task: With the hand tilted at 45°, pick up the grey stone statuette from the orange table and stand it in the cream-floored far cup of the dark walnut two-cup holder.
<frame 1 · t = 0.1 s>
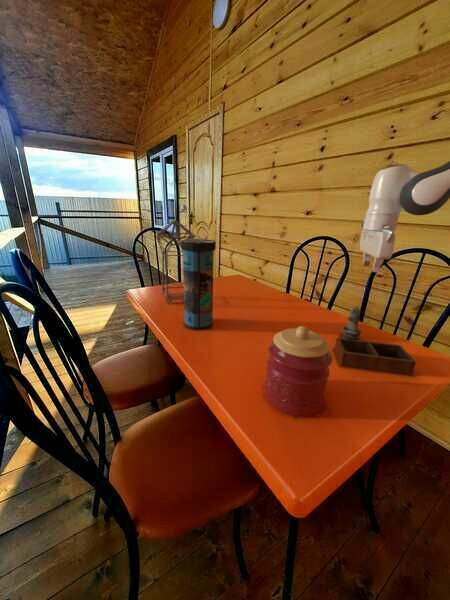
hand: (370, 268, 83), 23 cm above the table, tool pointing down, fingers open, 8 cm apart
grey stone statuette: (349, 339, 85), on the table
holder: (369, 363, 72), on the table
kitchen canister: (292, 398, 58), on the table
geometric lantern: (177, 301, 116), on the table
advertising column: (198, 325, 92), on the table
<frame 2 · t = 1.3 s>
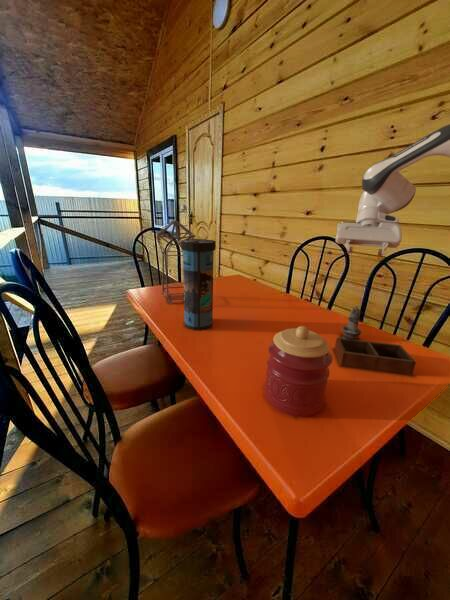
hand: (364, 253, 87), 27 cm above the table, tool tilted 45°, fingers open, 8 cm apart
nothing on the table moved.
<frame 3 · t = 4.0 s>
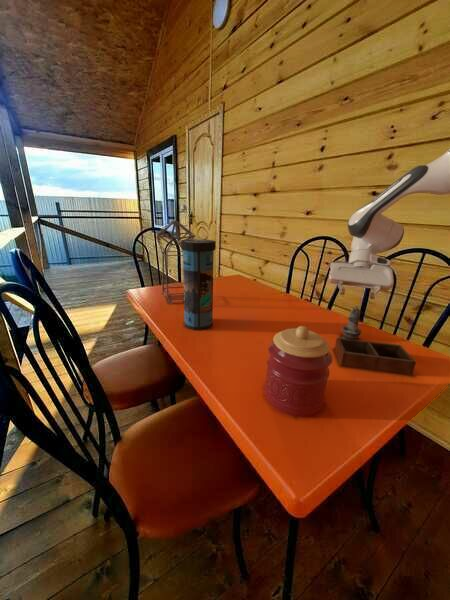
hand: (356, 296, 88), 13 cm above the table, tool tilted 45°, fingers open, 8 cm apart
nothing on the table moved.
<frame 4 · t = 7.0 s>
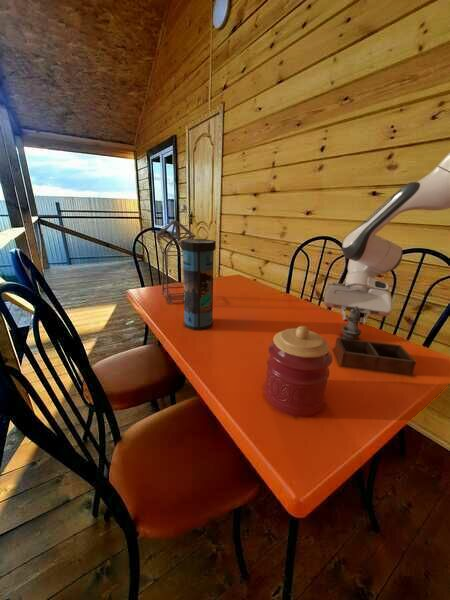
hand: (353, 322, 83), 7 cm above the table, tool tilted 45°, fingers closed on grey stone statuette, 3 cm apart
grey stone statuette: (349, 339, 85), on the table, touching gripper
everything else where it was.
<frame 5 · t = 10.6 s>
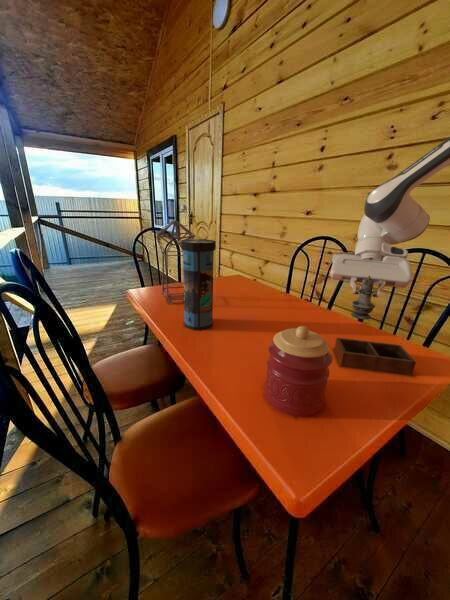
hand: (365, 294, 70), 19 cm above the table, tool tilted 45°, fingers closed on grey stone statuette, 3 cm apart
grey stone statuette: (360, 316, 73), point 12 cm above the table, touching gripper
everything else where it was.
when the fingers open (7 cm above the table, at t = 14.7 s): grey stone statuette stays where it is, resting on holder.
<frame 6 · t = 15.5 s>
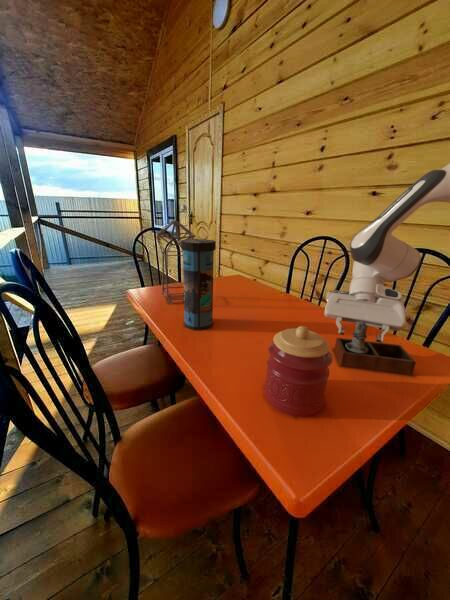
hand: (359, 337, 70), 8 cm above the table, tool tilted 45°, fingers open, 8 cm apart
grey stone statuette: (354, 359, 72), point 1 cm above the table, touching holder
everything else where it was.
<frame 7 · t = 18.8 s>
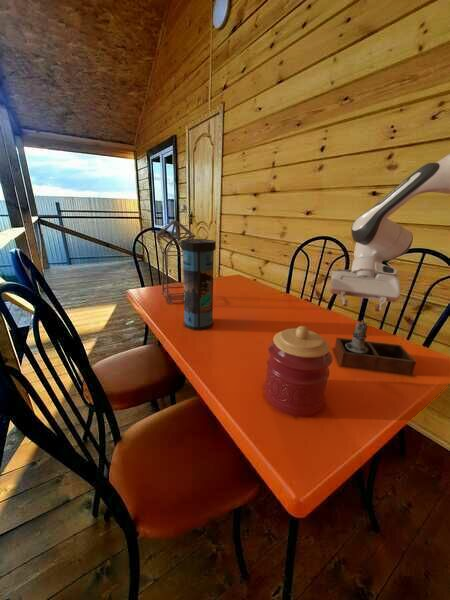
hand: (360, 308, 80), 12 cm above the table, tool tilted 45°, fingers open, 8 cm apart
nothing on the table moved.
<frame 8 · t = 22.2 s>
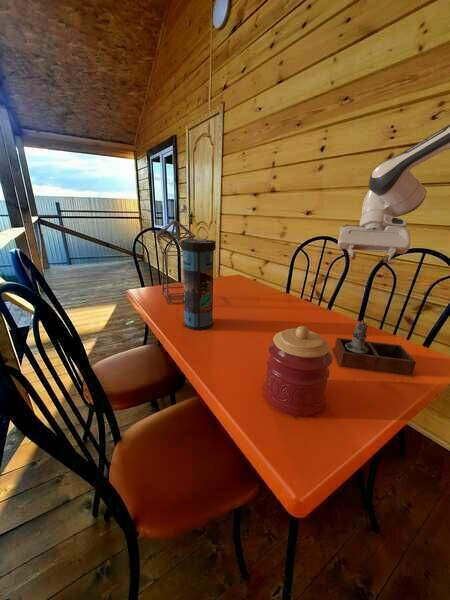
hand: (369, 260, 79), 26 cm above the table, tool tilted 45°, fingers open, 8 cm apart
nothing on the table moved.
at the end: grey stone statuette 0.0 cm from the target spot in the holder, point 0.6 cm above the holder's base; grey stone statuette tilted 0°; the gripper is holding nothing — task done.
